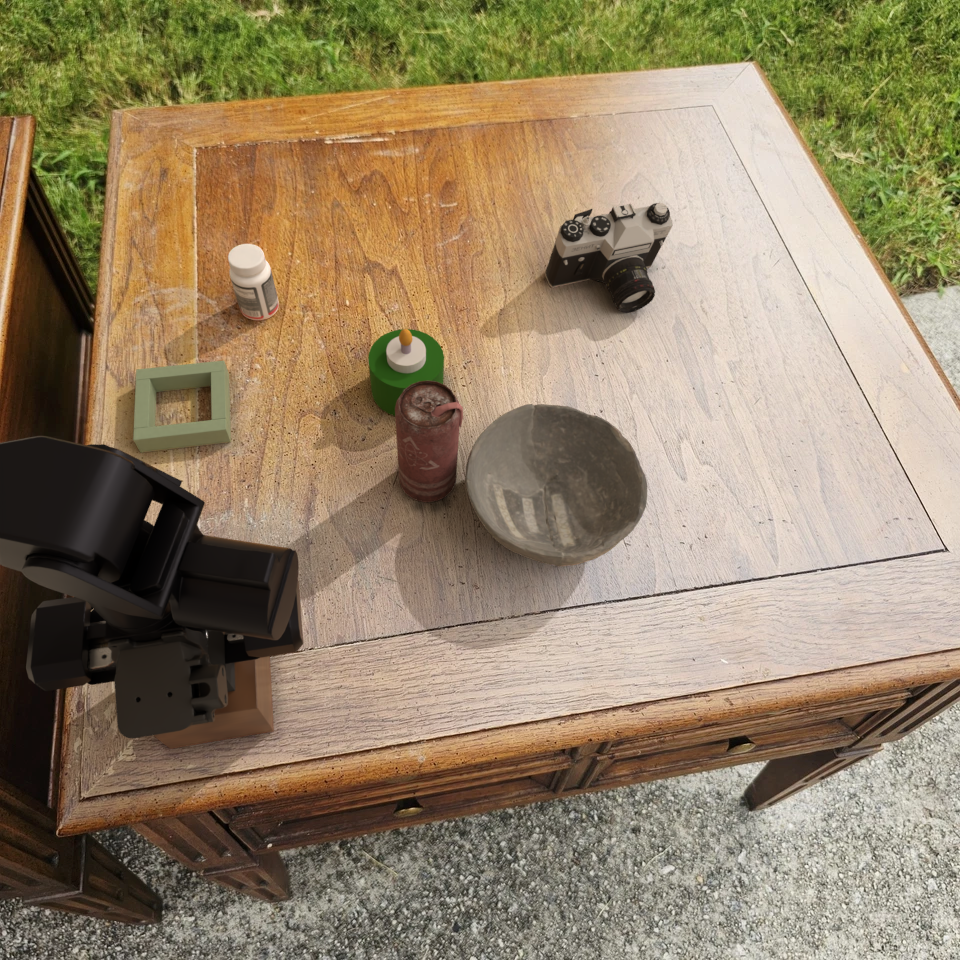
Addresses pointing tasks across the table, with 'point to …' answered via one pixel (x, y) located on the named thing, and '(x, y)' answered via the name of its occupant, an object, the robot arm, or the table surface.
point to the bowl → (555, 484)
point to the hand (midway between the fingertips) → (198, 662)
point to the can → (427, 440)
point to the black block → (220, 656)
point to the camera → (612, 252)
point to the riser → (235, 709)
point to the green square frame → (182, 433)
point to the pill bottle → (252, 282)
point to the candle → (402, 364)
